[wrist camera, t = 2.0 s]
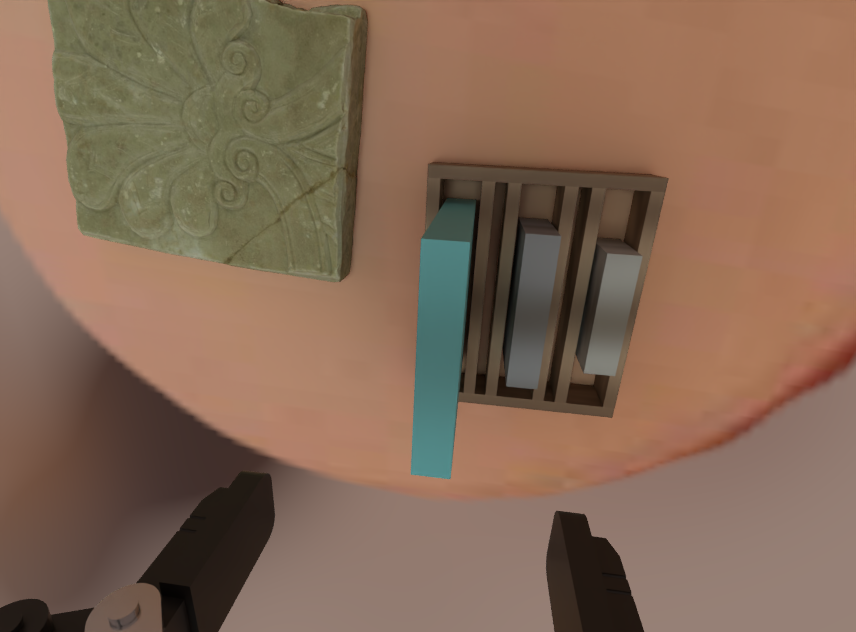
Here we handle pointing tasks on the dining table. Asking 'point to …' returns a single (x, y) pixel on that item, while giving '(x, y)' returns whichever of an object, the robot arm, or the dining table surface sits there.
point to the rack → (638, 236)
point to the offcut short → (607, 306)
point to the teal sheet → (441, 335)
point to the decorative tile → (214, 127)
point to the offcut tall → (529, 300)
